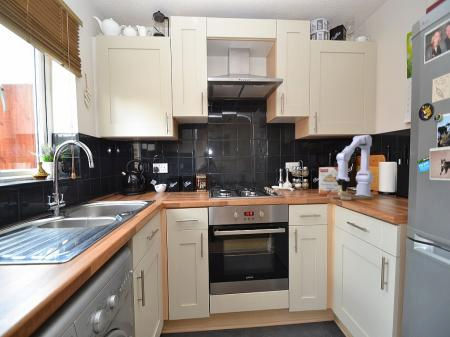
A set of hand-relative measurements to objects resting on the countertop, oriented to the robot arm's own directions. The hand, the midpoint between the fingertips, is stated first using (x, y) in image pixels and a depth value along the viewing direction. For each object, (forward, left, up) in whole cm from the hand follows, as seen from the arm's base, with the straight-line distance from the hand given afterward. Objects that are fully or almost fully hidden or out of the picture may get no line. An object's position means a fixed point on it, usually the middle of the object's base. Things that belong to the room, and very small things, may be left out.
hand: (342, 190), depth 147 cm
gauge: (0, 0, -5) cm, 5 cm away
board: (-3, +5, -5) cm, 8 cm away
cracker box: (-22, -1, -6) cm, 23 cm away
